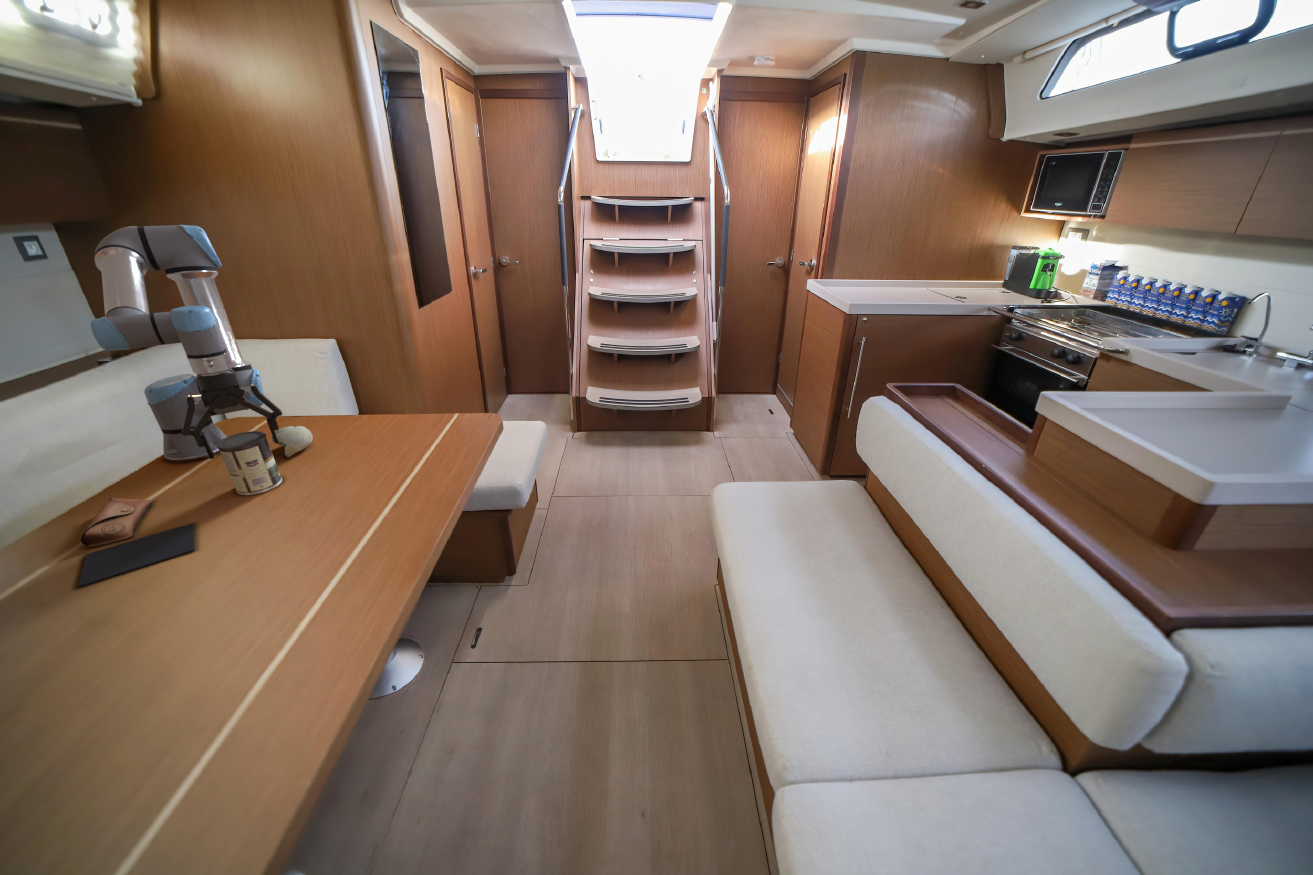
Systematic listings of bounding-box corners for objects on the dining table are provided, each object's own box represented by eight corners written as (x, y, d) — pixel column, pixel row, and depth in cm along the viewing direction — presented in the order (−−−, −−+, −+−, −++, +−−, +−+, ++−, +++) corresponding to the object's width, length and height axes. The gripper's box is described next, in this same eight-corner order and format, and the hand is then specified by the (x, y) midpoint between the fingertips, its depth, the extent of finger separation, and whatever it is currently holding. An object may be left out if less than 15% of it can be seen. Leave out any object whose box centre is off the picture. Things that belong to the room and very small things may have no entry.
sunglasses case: (134, 535, 115) (102, 519, 111) (106, 556, 114) (72, 540, 110) (155, 498, 129) (127, 482, 125) (130, 516, 128) (101, 501, 124)
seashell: (267, 424, 154) (304, 414, 158) (279, 445, 159) (315, 434, 163) (267, 443, 145) (306, 432, 149) (280, 465, 150) (318, 453, 154)
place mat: (87, 555, 110) (86, 554, 109) (193, 524, 120) (193, 522, 120) (78, 587, 101) (77, 586, 101) (194, 550, 111) (194, 549, 111)
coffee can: (264, 473, 142) (247, 428, 136) (291, 479, 139) (274, 434, 133) (226, 491, 133) (206, 444, 127) (254, 498, 130) (234, 450, 124)
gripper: (143, 386, 112) (182, 469, 121) (277, 365, 127) (303, 440, 136) (145, 378, 117) (182, 458, 126) (274, 358, 132) (298, 431, 141)
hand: (245, 449), depth 131 cm, fingers open, 13 cm apart
